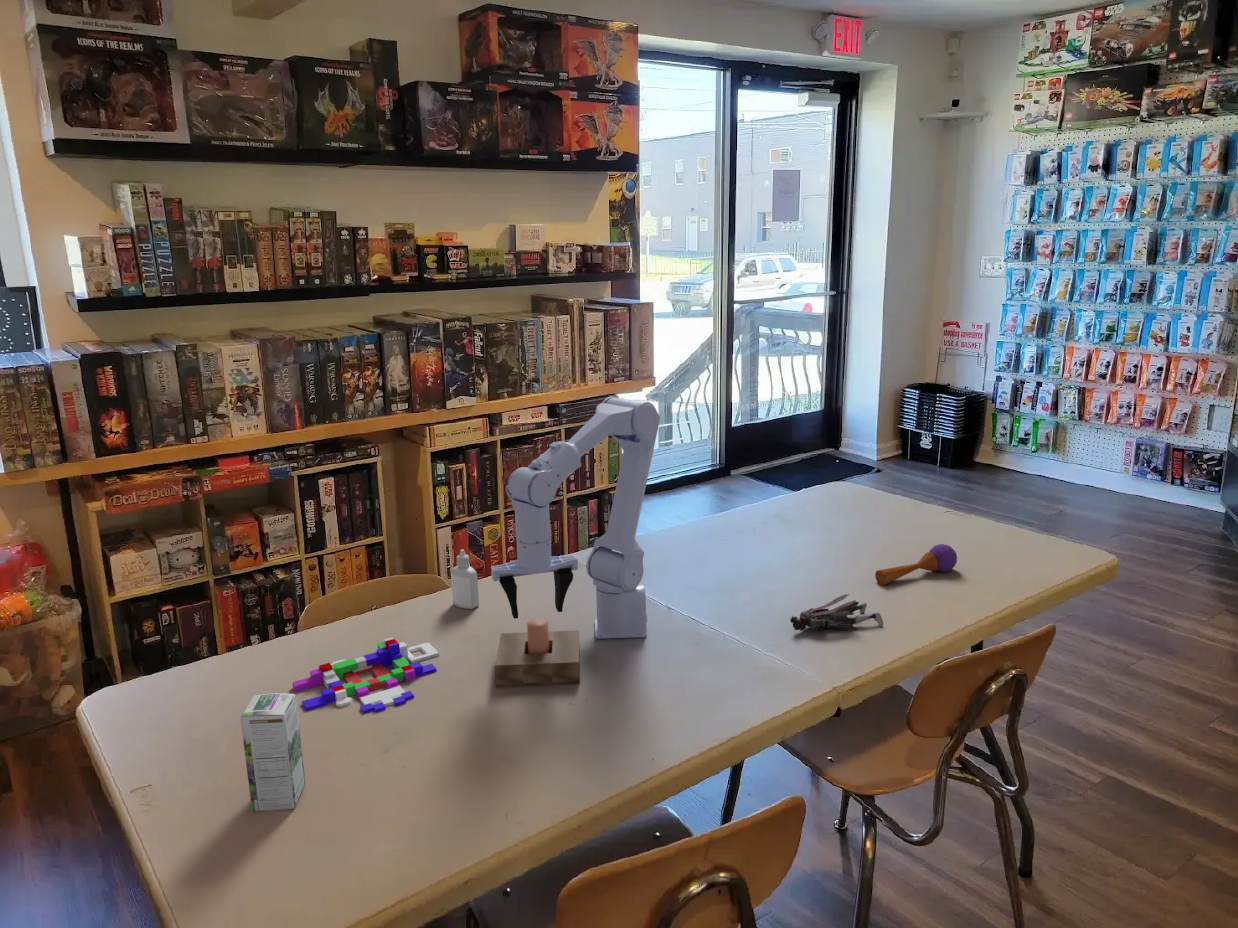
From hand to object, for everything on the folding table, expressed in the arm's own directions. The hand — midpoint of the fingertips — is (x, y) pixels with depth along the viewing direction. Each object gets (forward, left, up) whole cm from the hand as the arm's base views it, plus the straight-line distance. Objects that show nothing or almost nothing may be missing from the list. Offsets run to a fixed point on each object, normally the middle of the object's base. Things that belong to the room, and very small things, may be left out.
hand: (537, 612), depth 155 cm
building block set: (+28, +2, -11) cm, 30 cm away
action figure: (-55, -12, -11) cm, 57 cm away
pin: (0, 0, -10) cm, 10 cm away
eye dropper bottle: (+16, -28, -11) cm, 34 cm away
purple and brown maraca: (-79, -34, -11) cm, 87 cm away
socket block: (0, 0, -10) cm, 10 cm away
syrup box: (+34, +34, -11) cm, 49 cm away
